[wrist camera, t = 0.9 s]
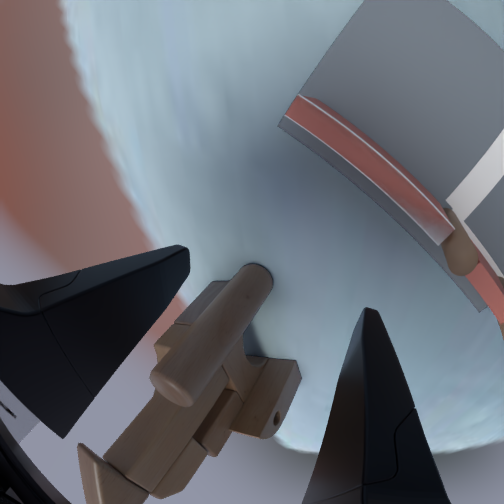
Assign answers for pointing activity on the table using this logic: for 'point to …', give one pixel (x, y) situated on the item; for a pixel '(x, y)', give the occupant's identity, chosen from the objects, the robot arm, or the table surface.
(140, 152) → the table surface
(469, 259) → the fixed fence
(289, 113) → the gate panel
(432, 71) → the board
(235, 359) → the wooden toy
